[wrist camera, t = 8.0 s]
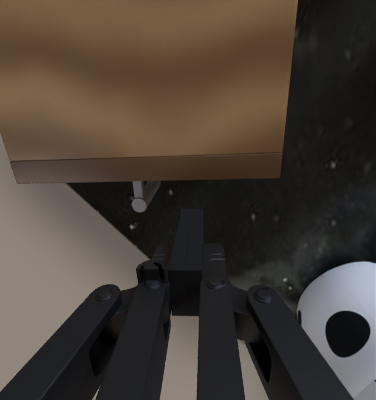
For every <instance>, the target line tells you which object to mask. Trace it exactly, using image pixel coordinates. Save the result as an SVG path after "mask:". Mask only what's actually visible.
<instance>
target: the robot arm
mask: <svg viewBox="0 0 376 400" xmlns="http://www.w3.org/2000/svg"><path fill="white" fill-rule="evenodd" d="M136 272H137V278H138V286H136V287H134V288H131V289H127V290H122V291H120V289H119V287H118V286H116V285H112V284H107V285H103V286H101V287H98V288H97V289H95V290H94V291H93V292H92V293H91V294H90V295H89V296H88V297H87V298H86V299H85V301H84V302H83V303H82V304H81V305H80V306H79V307H78V308H77V309H76V310H75V311H74V312H73V313H72V315H71V316H70V317H69V318H68V319H67V320H66V321H65V322H64V323H63V324H62V325H61V327H60V328H59V329H58V330H57V331H56V332H55V333H54V334H53V335H52V336H51V337H50V339H49V340H48V341H47V342H46V343H45V344H44V345H43V346H42V347H41V348H40V349H39V351H38V352H37V353H36V354H35V355H34V356H33V357H32V358H31V359H30V360H29V361H28V362H27V364H26V365H25V366H24V367H23V368H22V369H21V370H20V371H19V372H18V373H17V374H16V375H15V376H14V378H13V379H12V380H11V381H10V382H9V383H8V384H7V385H6V386H5V387H4V388H3V390H2V391H1V392H0V400H92V399H93V397H94V395H95V394H96V392H97V390H98V389H99V391H98V394H97V397H96V400H160V393H161V387H162V381H163V374H164V367H165V361H166V354H167V348H168V340H169V334H170V327H171V321H170V314H171V310H172V315H173V316H174V315H175V316H199V340H198V373H197V400H245V394H244V387H243V379H242V372H241V364H240V358H239V349H238V342H237V339H240V340H243V341H245V344H246V347H247V349H248V351H249V354H250V356H251V358H252V361H253V363H254V365H255V368H256V370H257V373H258V375H259V377H260V379H261V382H262V384H263V387H264V389H265V391H266V393H267V396H268V398H269V400H354V399H353V398H352V396H351V395H350V394H349V392H348V391H347V389H346V388H345V387H344V385H343V384H342V382H341V381H340V380H339V378H338V377H337V375H336V374H335V373H334V371H333V370H332V368H331V367H330V366H329V364H328V363H327V361H326V360H325V359H324V357H323V356H322V354H321V353H320V352H319V350H318V349H317V347H316V346H315V345H314V343H313V342H312V340H311V339H310V338H309V336H308V335H307V333H306V332H305V331H304V329H303V328H302V326H301V325H300V324H299V322H298V321H297V319H296V318H295V317H294V315H293V314H292V312H291V311H290V310H289V308H288V307H287V305H286V304H285V303H284V301H283V300H282V298H281V297H280V296H279V294H278V293H277V292H276V291H275V290H273V289H272V288H270V287H267V286H263V285H256V286H253V287H251V288H250V289H249V290H248V291H245V290H241V289H238V288H236V287H234V286H233V285H232V284H231V283H230V282H229V281H228V278H227V270H226V263H225V255H224V248H223V247H222V246H221V245H220V243H204V240H203V209H181V213H180V218H179V222H178V226H177V231H176V235H175V240H174V244H160V245H159V246H158V247H157V248H155V250H154V253H153V256H152V259H151V260H148V261H145V262H143V263H141V264H140V265H138V267H137V268H136ZM100 385H101V386H100ZM99 387H100V388H99Z"/></svg>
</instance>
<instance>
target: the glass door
mask: <svg viewBox="0 0 376 400" xmlns="http://www.w3.org/2000/svg"><path fill="white" fill-rule="evenodd" d="M160 184H161V182H160V181H148V182H147V184H146V185H145V186H144V183H143V181H133V188H134V196H135V199H134V200H133V202H132V208H133V209H134V210H135V211H137V212H143V211H145V210H146V208H147V206H148V205H149V203H150V201H151V200H152V198H153V196H154V195H155V193H156V191H157V190H158V188H159V186H160Z"/></svg>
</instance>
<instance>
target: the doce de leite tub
mask: <svg viewBox="0 0 376 400" xmlns="http://www.w3.org/2000/svg"><path fill="white" fill-rule="evenodd" d="M297 320H298V322H299V324H300V325H301V326H302V328H303V329H304V331H305V332H306V333H307V335H308V336H309V338H310V339H311V340H312V342H313V343H314V345H315V346H316V347H317V349H318V350H319V352H320V353H321V354H322V356H323V357H324V359H325V360H326V361H327V363H328V364H329V366H330V367H331V368H332V370H333V371H334V373H335V374H336V375H337V377H338V378H339V380H340V381H341V382H342V384H343V385H344V387H345V388H346V389H347V391H348V392H349V394H350V395H351V396H352V398H353V399H354V400H376V262H375V261H358V262H350V263H346V264H342V265H339V266H336V267H334V268H331V269H329V270H327V271H325V272H323V273H322V274H321V275H319V276H318V277H316V278H315V279H314V280H312V281H311V282H310V283H309V285H308V286H307V287H306V288H305V290H304V291H303V293H302V294H301V296H300V299H299V303H298V307H297Z"/></svg>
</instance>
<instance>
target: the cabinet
mask: <svg viewBox="0 0 376 400" xmlns="http://www.w3.org/2000/svg"><path fill="white" fill-rule="evenodd" d="M297 4H298V0H0V133H1V136H2V139H3V142H4V145H5V148H6V151H7V154H8V157H9V160H10V163H11V166H12V169H13V173H14V176H15V179H16V182H17V183H18V184H27V183H28V184H30V183H76V182H122V181H168V180H214V179H260V178H280V171H281V161H282V151H283V142H284V132H285V122H286V112H287V102H288V93H289V83H290V73H291V63H292V53H293V44H294V34H295V24H296V14H297Z"/></svg>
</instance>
